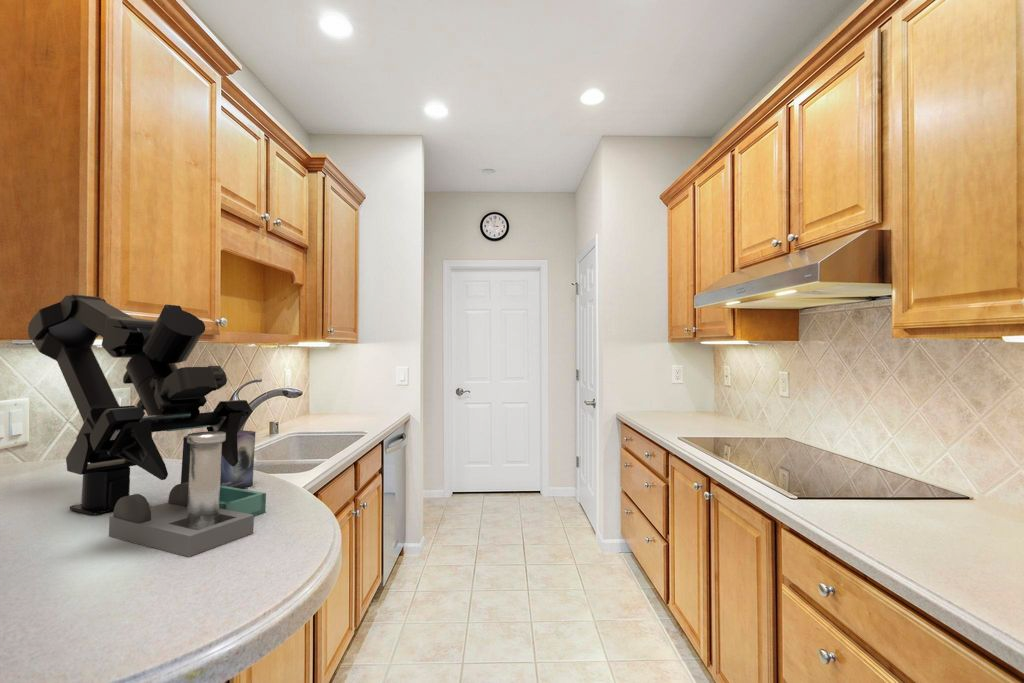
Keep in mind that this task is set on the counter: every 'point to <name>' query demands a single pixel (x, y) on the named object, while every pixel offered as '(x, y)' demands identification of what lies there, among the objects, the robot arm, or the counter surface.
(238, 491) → the tray
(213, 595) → the counter surface
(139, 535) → the socket plate with bumps
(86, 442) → the robot arm
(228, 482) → the small box
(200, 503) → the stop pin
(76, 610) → the counter surface
